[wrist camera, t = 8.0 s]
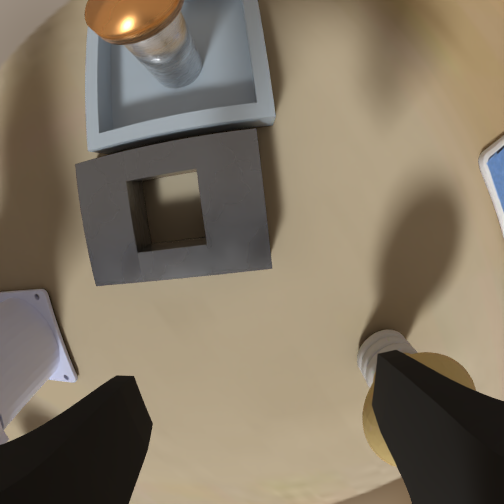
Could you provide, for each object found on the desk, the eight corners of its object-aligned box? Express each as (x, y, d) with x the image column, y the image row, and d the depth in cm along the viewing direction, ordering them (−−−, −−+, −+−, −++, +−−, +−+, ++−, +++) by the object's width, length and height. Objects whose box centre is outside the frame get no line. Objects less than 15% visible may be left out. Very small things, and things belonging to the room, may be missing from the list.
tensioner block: (112, 274, 18) (96, 286, 16) (95, 165, 17) (75, 164, 14) (269, 257, 18) (272, 268, 15) (256, 135, 16) (256, 128, 14)
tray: (107, 154, 16) (87, 151, 14) (105, 21, 14) (90, 6, 12) (272, 125, 16) (275, 116, 14) (252, -11, 14) (251, -32, 11)
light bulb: (337, 313, 19) (398, 421, 9) (423, 301, 18) (513, 378, 9) (333, 391, 20) (369, 500, 10) (410, 375, 20) (470, 464, 10)
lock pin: (150, 101, 15) (81, 48, 7) (147, 49, 14) (89, -19, 7) (212, 88, 15) (180, 16, 7) (206, 36, 14) (177, -48, 6)
